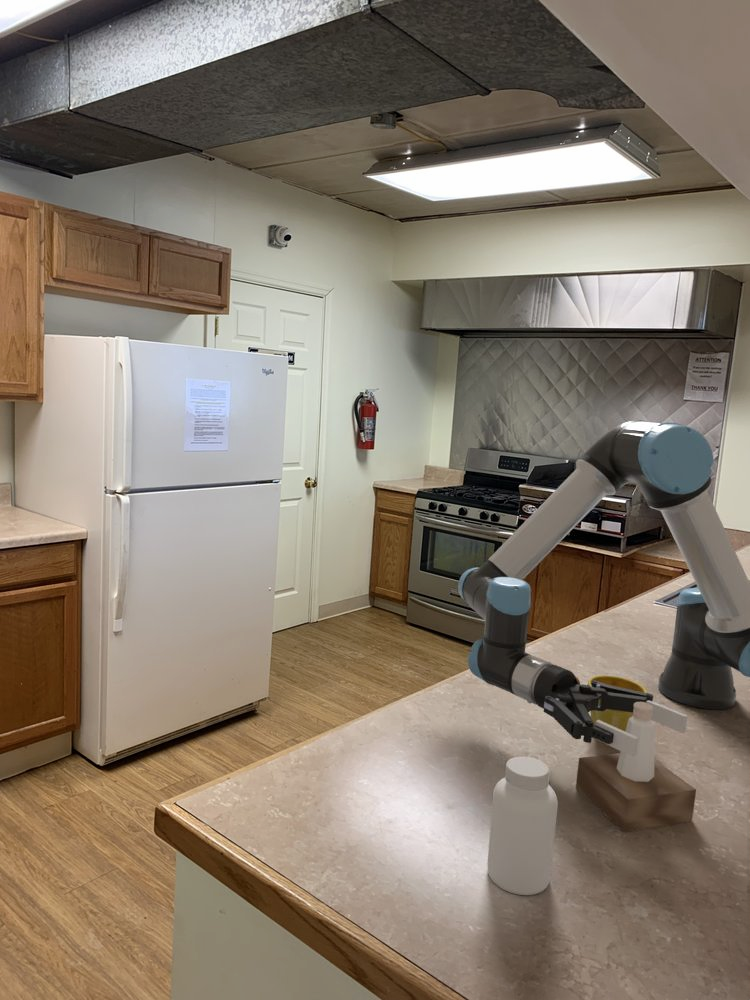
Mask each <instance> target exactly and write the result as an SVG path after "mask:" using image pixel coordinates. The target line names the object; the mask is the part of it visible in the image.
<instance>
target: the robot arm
mask: <svg viewBox="0 0 750 1000" xmlns="http://www.w3.org/2000/svg"><path fill="white" fill-rule="evenodd" d="M575 464H576V465H575V467H576V468H575V470H574V471H573V472H572V473H571V474H570V475H569V476H568V477H567V478H566V479H565V480H564V481H563V482H562V483H561V484H560V485H559V486H558V487H557V488H556V489H555V490H554V491H553V492H552V493H551V494H550V496H548V498H547V499H545V500H544V502H542V504H541V505H540V506H539V507H538V508H537V509H536V510H535V511H534V512H533V513H532V514H531V515H530V516H529V517H528V518H527V519H525V521H524V522H523V523H522V524H521V525H520V526H519V527H518V528H517V530H515V531H514V532H513V533H512V534H511V536H510V537H508V539H506V541H504V543H503V544H502V545H501V546H500V547H498V549H497V550H496V551H495V552H494V553H493V554H492V555H491V556H490V557H489V558H488V559H487V560H486V561H485V562H484V563H482V565H481V566H480V567H472V568H469V569H467V570H465V572H463V573H462V574H461V576H460V578H459V581H458V585H457V591H458V593H459V596H460V597H461V598H462V600H463V601H464V602H465V605H467V607H469V608H471V609H472V610H473V611H475V612H476V614H477V615H479V616H480V617H481V618H482V619H483V620H484V632H483V637H481V638H479V639H477V640H476V641H474V643H473V644H472V646H471V647H470V648H471V651H470V652H469V653H468V655H467V665H468V668H469V670H470V672H471V673H472V675H474V676H475V677H477V678H479V679H480V680H482V681H483V682H484V683H486V684H488V685H491V686H494V687H497V688H499V689H501V690H503V691H505V692H508V693H509V694H512V695H515V696H516V697H518V698H520V699H523V700H525V701H526V702H527V703H528V704H534V705H535V706H536V705H537V706H538V707H539V708H541V709H543V712H544V713H545V714H546V715H548V716H550V717H552V718H553V719H554V720H555V721H556V722H557V723H558V724H559V725H560V726H561V727H562V728H563V729H564V730H565V732H567V733H568V735H570V736H571V737H572V738H573V739H575V740H581V739H582V740H583V741H582V742H584V743H587V744H591V743H592V742H593V739H594V740H597V741H599V742H600V743H603V744H605V745H607V746H609V747H611V748H613V749H615V750H618V751H619V752H620V751H622V752H624V753H626V754H628V755H630V756H632V757H634V756H636V751H637V743H638V737H636V736H634V735H631V734H629V733H627V732H625V731H623V730H620V729H618V728H616V727H614V726H611V725H609V724H607V723H605V722H603V721H600V720H597V721H596V723H595V724H594V721H593V719H592V718H591V713H590V711H592V710H596V711H605V710H606V709H610V710H617V711H625V712H632V713H633V710H634V703H635V702H645V703H648V704H650V705H652V706H653V711H652V717H651V721H652V722H656V723H657V724H660V725H662V726H665V727H667V728H669V729H672V730H674V731H676V732H679V733H681V734H685V733H686V730H687V723H688V717H689V716H688V714H684V713H682V712H680V711H677V710H675V709H672V708H669V707H667V706H665V705H662V704H659V703H657V702H655V701H653V700H654V695H653V694H652V693H648V692H647V693H644V692H639V691H634V690H630V689H625V688H621V687H616V686H611V685H607V684H604V683H601V682H598V681H592V684H591V686H589V685H588V684H581V683H580V684H579V683H578V681H577V679H576V677H577V676H576V675H575V674H574V672H572V671H571V670H569V669H567V668H564V667H562V666H559V665H557V664H553V663H552V662H550V661H548V660H545V659H542V658H540V657H537V656H535V655H531V654H530V653H528V652H526V647H527V646H526V645H527V637H528V636H527V635H528V625H529V619H530V618H529V617H530V616H529V615H530V609H531V606H532V601H531V586H530V584H529V583H528V582H527V581H525V580H524V579H525V578H526V577H527V576H528V575H529V574H530V573H531V572H532V571H533V570H534V569H535V568H536V567H537V566H538V565H539V564H540V563H541V562H542V561H543V560H544V558H545V557H547V555H548V554H550V553H551V552H552V551H553V550H554V549H555V547H557V546H558V545H559V543H560V542H561V541H562V540H563V539H564V538H565V537H566V536H567V535H568V534H569V533H570V532H571V531H572V530H573V529H574V528H575V527H576V526H577V525H578V524H579V523H580V522H581V521H582V520H583V519H584V518H585V517H586V516H587V515H588V514H589V513H590V512H591V511H592V510H593V509H594V508H596V506H597V505H598V504H599V503H600V502H601V501H602V500H603V499H604V497H607V496H614V495H615V494H616V493H617V492H618V491H619V490H620V489H621V488H622V487H624V486H625V485H627V484H629V483H634V484H637V486H638V487H639V489H640V492H641V494H642V496H643V497H644V500H645V502H646V503H647V506H648V507H649V508H650V509H653V510H656V511H660V513H661V514H662V515H661V516H662V517H663V519H664V521H665V523H666V525H667V526H668V529H669V531H670V533H671V534H672V535H671V536H672V537H673V539H674V541H675V543H676V545H677V547H678V549H679V551H680V553H681V556H682V557H683V559H684V561H685V564H686V566H687V569H688V570H689V571H690V574H691V576H692V578H693V580H694V581H695V584H696V586H697V587H690V588H685V589H682V590H681V591H680V593H679V594H678V600H677V603H676V611H675V612H676V614H675V622H674V628H673V629H674V630H673V637H672V644H671V645H672V646H671V647H672V648H671V653H670V656H669V658H668V660H667V662H666V664H665V667H664V668H663V669H664V670H663V672H661V673H660V675H659V678H658V679H659V680H658V687H657V688H658V690H659V691H660V693H661V694H662V695H663V696H665V697H667V698H669V699H671V700H672V701H675V702H677V703H680V704H683V705H687V706H690V707H694V708H699V709H706V710H726V709H730V708H732V707H734V706H735V704H736V699H737V690H736V688H735V685H734V684H735V683H734V677H733V675H734V674H733V671H732V669H733V670H736V671H737V672H739V673H740V674H741V675H742V676H745V677H747V678H750V580H749V579H748V576H747V574H746V573H745V569H744V567H743V565H742V563H741V561H740V559H739V557H738V555H737V552H736V550H735V549H734V546H733V544H732V542H731V540H730V538H729V535H728V533H727V531H726V529H725V527H724V524H723V522H722V520H721V519H720V516H719V514H718V512H717V510H716V508H715V505H714V502H713V501H712V499H711V497H710V495H709V489H710V488H711V486H712V485H713V484H712V483H713V479H712V477H711V474H712V472H713V469H711V468H712V465H714V453H713V449H712V447H711V444H710V442H708V440H707V439H706V436H704V435H703V434H702V433H700V432H699V431H698V430H696V429H694V428H692V427H690V426H687V425H684V424H681V423H677V422H654V421H648V420H638V419H636V420H629V421H625V422H623V423H620V424H619V425H617V426H615V427H613V428H611V429H610V430H608V432H606V433H605V434H603V435H602V436H601V437H600V438H599V439H598V440H597V441H595V442H594V443H593V444H592V445H591V446H590V447H589V448H588V449H587V450H586V451H585V452H584V453H583V454H582V455H581V456H580V457H579V458H578V459H577V460H576V462H575ZM575 676H576V677H575ZM599 699H601V700H600V704H599V705H598V703H599ZM582 736H583V737H582Z"/></svg>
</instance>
